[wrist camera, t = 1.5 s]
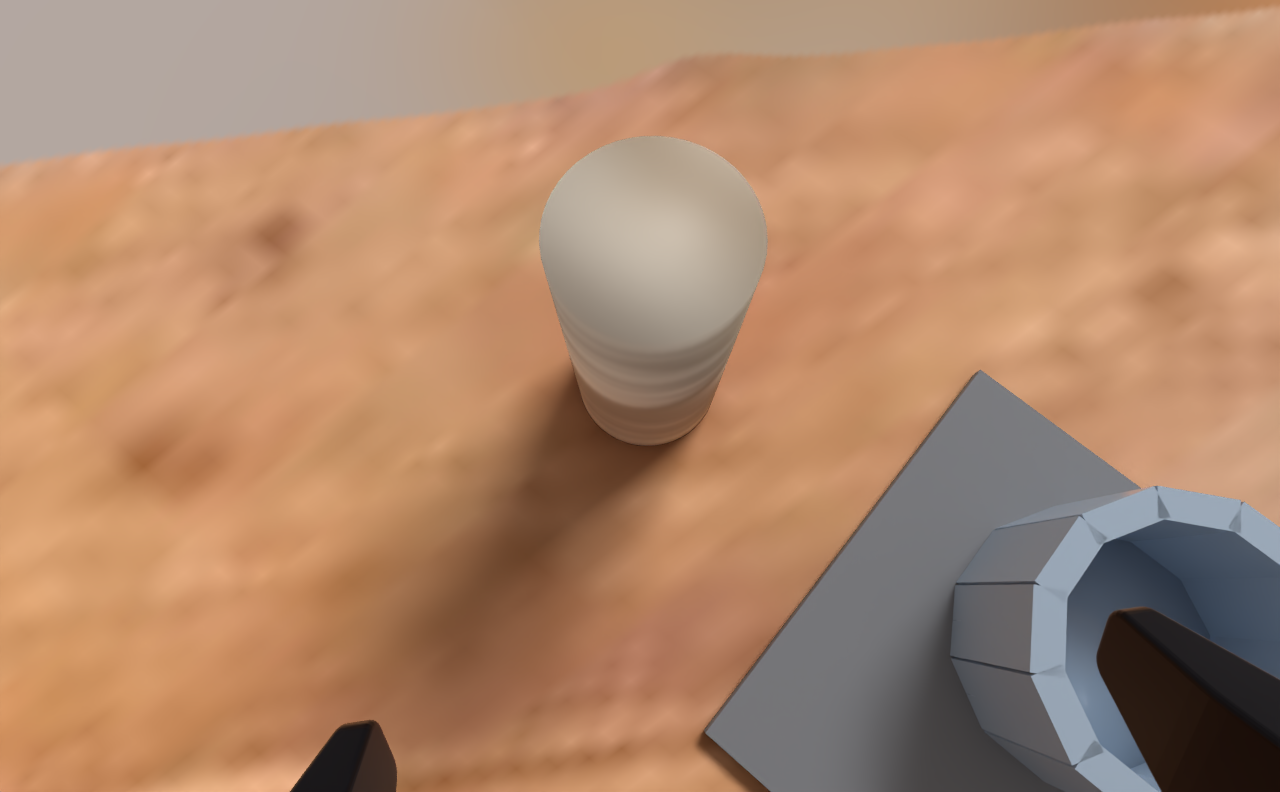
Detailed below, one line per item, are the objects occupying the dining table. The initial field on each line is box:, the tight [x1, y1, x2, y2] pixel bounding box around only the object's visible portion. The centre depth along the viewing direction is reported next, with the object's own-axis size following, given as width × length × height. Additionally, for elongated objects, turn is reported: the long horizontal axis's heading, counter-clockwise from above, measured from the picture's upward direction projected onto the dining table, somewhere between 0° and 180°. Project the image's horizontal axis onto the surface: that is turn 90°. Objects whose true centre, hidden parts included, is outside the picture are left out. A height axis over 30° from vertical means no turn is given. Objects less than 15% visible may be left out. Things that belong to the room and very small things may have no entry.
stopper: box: [539, 136, 768, 446], centre depth 19 cm, size 4×4×10 cm
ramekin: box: [950, 486, 1280, 792], centre depth 19 cm, size 8×8×4 cm
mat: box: [704, 370, 1141, 792], centre depth 21 cm, size 14×14×1 cm
